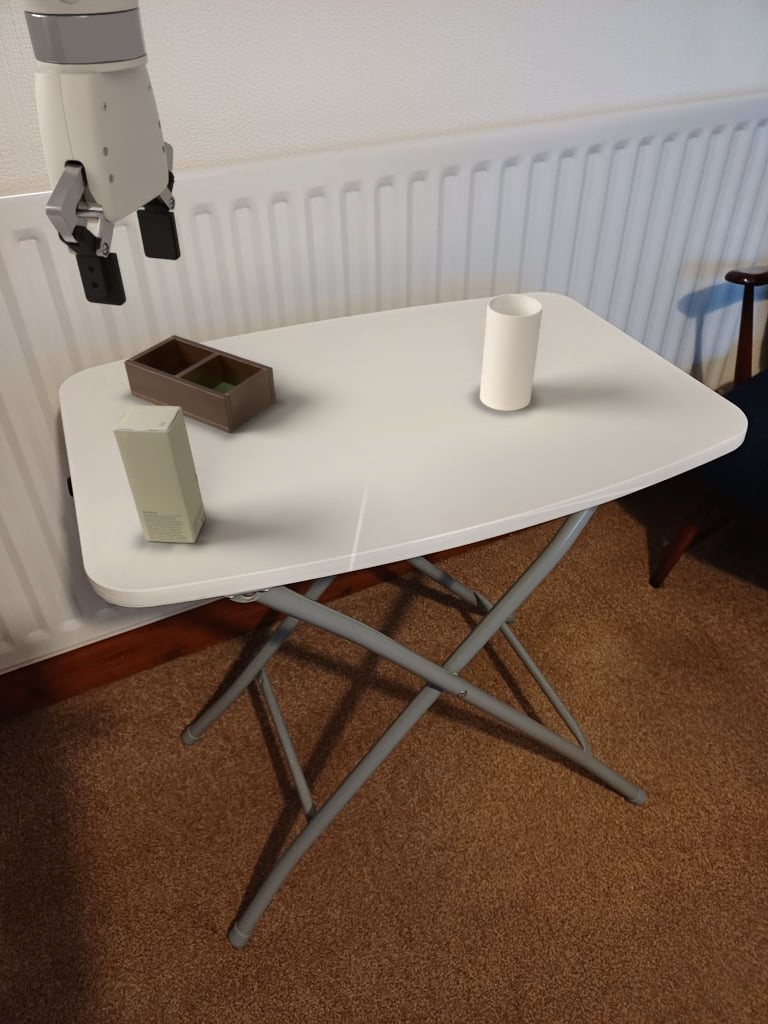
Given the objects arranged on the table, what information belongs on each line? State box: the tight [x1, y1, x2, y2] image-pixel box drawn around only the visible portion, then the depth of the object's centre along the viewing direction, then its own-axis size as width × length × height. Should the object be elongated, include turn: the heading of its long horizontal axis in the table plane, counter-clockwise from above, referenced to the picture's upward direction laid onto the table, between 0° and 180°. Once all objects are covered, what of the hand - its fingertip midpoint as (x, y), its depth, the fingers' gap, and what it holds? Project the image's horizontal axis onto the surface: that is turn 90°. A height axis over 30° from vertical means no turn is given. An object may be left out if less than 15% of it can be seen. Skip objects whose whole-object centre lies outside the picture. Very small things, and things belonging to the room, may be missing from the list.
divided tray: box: [123, 334, 277, 434], centre depth 94 cm, size 8×16×5 cm, turn 57°
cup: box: [479, 293, 543, 412], centre depth 92 cm, size 6×6×12 cm
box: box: [112, 404, 206, 544], centre depth 72 cm, size 5×4×13 cm
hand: (136, 279), depth 65 cm, fingers open, 9 cm apart
